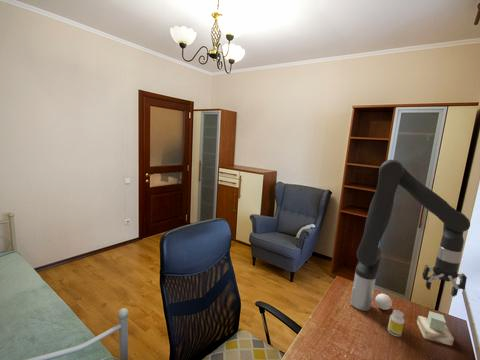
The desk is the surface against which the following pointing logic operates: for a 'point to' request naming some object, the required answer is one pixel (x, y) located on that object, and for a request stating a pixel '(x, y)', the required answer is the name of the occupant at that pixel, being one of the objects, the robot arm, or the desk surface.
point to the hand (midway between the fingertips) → (440, 292)
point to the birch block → (434, 332)
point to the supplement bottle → (396, 323)
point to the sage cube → (436, 321)
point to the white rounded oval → (383, 301)
